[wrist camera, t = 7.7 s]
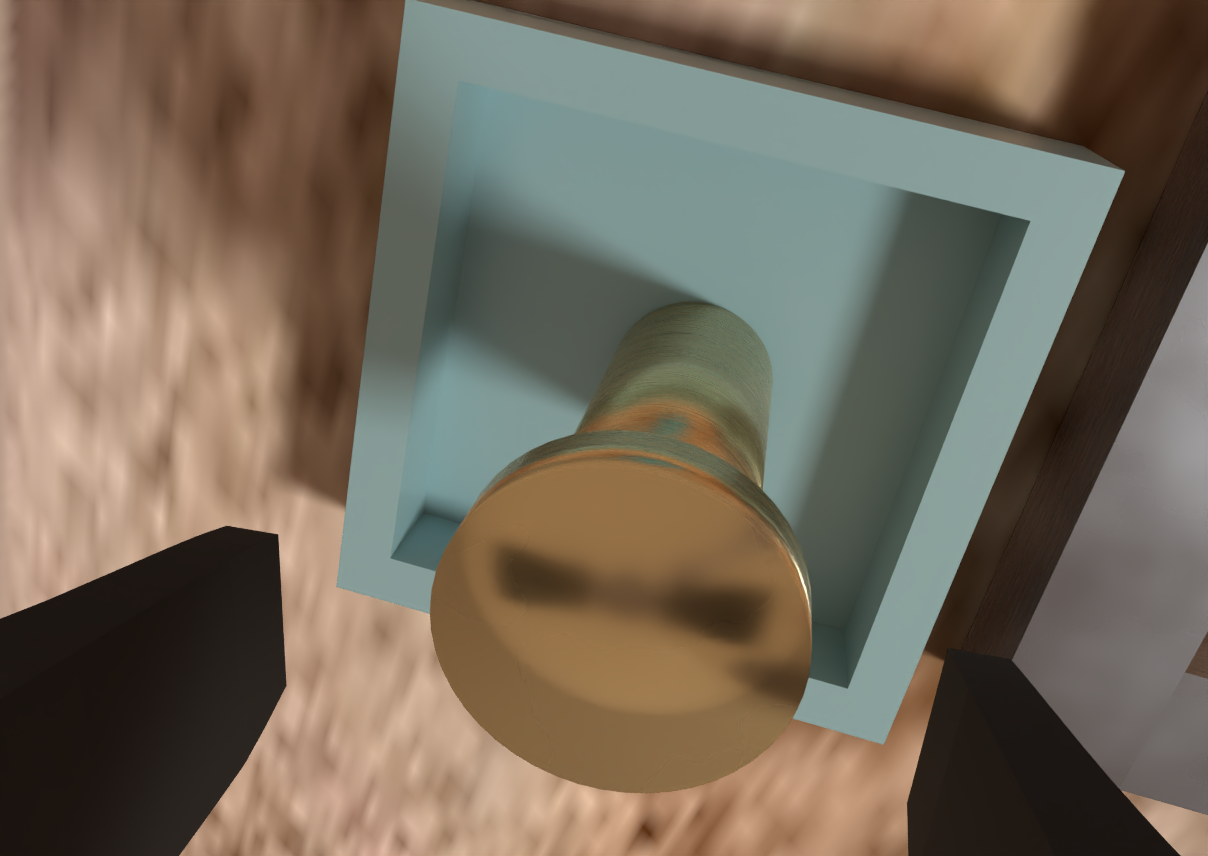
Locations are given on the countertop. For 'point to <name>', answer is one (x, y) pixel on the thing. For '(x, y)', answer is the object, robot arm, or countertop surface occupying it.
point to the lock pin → (636, 574)
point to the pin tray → (710, 302)
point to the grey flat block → (1127, 524)
